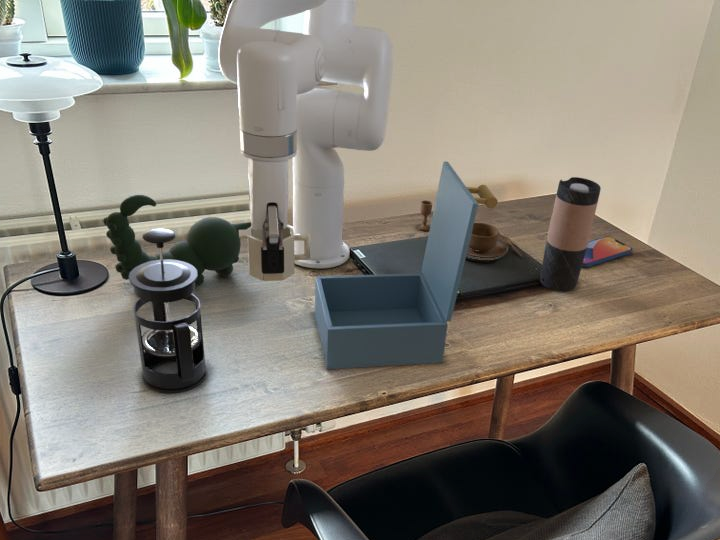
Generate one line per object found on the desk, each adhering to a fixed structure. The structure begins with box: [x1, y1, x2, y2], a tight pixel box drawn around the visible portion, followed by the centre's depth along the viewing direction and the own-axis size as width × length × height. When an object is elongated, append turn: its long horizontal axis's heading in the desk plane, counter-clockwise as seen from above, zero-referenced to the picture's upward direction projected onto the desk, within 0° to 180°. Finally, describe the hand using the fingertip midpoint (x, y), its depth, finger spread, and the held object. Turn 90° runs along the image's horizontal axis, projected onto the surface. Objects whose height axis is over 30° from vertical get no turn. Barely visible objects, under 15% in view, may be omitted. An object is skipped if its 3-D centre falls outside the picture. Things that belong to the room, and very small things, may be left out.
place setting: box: [417, 199, 523, 263], centre depth 154 cm, size 18×20×6 cm
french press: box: [128, 228, 208, 394], centre depth 103 cm, size 12×9×23 cm
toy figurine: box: [102, 194, 252, 287], centre depth 128 cm, size 9×19×25 cm
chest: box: [314, 272, 449, 370], centre depth 121 cm, size 19×17×7 cm
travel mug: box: [539, 176, 602, 292], centre depth 138 cm, size 8×8×20 cm
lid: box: [421, 160, 499, 323], centre depth 116 cm, size 19×17×6 cm
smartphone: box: [582, 235, 633, 268], centre depth 155 cm, size 7×15×1 cm, turn 124°
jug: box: [239, 222, 310, 282], centre depth 109 cm, size 10×7×6 cm, turn 102°
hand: (271, 260), depth 110 cm, fingers closed on jug, 6 cm apart
